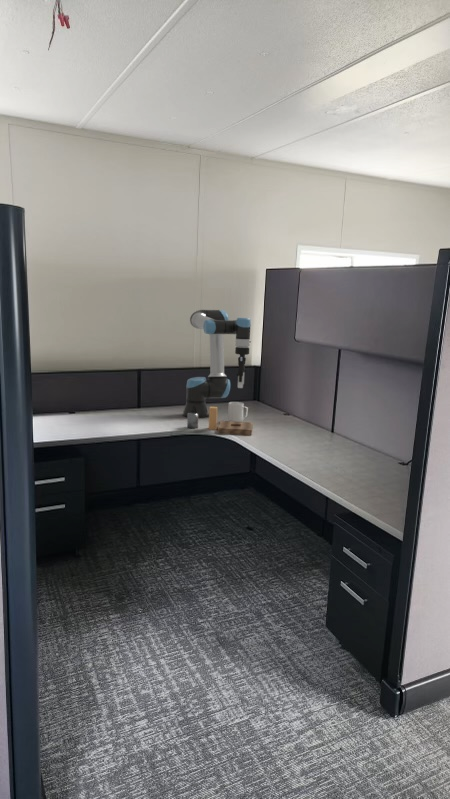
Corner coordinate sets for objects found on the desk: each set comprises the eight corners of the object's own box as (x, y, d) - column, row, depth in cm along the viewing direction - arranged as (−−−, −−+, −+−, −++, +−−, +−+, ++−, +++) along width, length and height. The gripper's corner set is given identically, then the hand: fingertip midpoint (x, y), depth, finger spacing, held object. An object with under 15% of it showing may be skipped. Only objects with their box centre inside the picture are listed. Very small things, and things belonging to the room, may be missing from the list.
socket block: (217, 433, 289) (217, 428, 289) (220, 426, 307) (220, 420, 307) (251, 435, 288) (251, 429, 288) (252, 427, 306) (252, 422, 305)
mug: (225, 422, 318) (225, 403, 316) (232, 419, 325) (233, 401, 323) (243, 424, 312) (244, 406, 310) (250, 422, 319) (251, 403, 317)
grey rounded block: (185, 427, 301) (185, 413, 300) (193, 426, 305) (194, 412, 304) (191, 429, 297) (191, 415, 295) (200, 428, 301) (200, 414, 299)
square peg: (208, 429, 298) (209, 408, 296) (209, 427, 302) (210, 406, 300) (216, 429, 298) (216, 408, 296) (216, 428, 302) (217, 407, 300)
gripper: (248, 349, 278) (246, 390, 282) (250, 345, 302) (248, 382, 306) (233, 348, 278) (232, 389, 282) (236, 344, 303) (235, 382, 307)
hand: (240, 386), depth 294 cm, fingers open, 13 cm apart
